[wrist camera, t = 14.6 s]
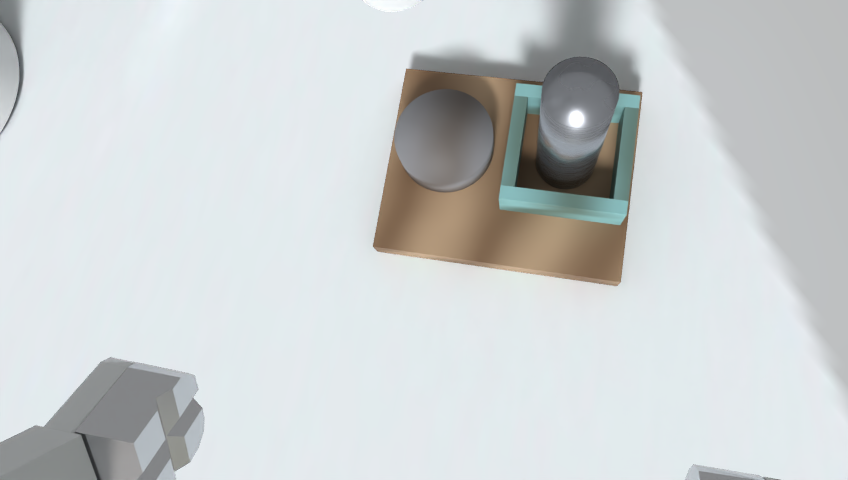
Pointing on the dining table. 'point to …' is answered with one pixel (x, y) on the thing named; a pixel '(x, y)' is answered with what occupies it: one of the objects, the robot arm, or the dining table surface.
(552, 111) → the pin
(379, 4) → the mug
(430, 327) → the dining table surface
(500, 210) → the nut block
